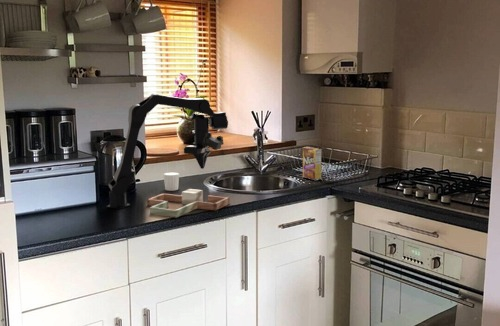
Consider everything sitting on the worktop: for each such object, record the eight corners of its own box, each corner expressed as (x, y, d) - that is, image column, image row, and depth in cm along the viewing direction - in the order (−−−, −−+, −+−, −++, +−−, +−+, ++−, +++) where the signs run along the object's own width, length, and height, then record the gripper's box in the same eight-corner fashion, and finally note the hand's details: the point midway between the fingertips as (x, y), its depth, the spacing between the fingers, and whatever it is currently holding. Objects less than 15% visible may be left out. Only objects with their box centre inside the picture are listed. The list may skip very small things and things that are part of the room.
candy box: (301, 179, 268) (302, 147, 265) (308, 177, 270) (309, 146, 268) (314, 182, 261) (315, 149, 258) (321, 181, 263) (322, 148, 260)
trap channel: (195, 220, 199) (195, 213, 199) (132, 211, 211) (132, 205, 211) (229, 203, 222) (229, 197, 222) (170, 196, 234) (170, 190, 233)
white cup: (160, 189, 246) (160, 174, 245) (170, 186, 252) (169, 171, 251) (173, 191, 243) (173, 175, 242) (182, 188, 249) (182, 172, 248)
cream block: (195, 205, 219) (194, 193, 219) (182, 204, 222) (181, 191, 221) (203, 202, 225) (202, 190, 224) (190, 200, 227) (189, 188, 226)
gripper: (207, 133, 214) (208, 174, 217) (230, 128, 230) (230, 166, 233) (182, 132, 218) (183, 171, 221) (206, 127, 235) (207, 164, 238)
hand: (202, 168), depth 228 cm, fingers closed
